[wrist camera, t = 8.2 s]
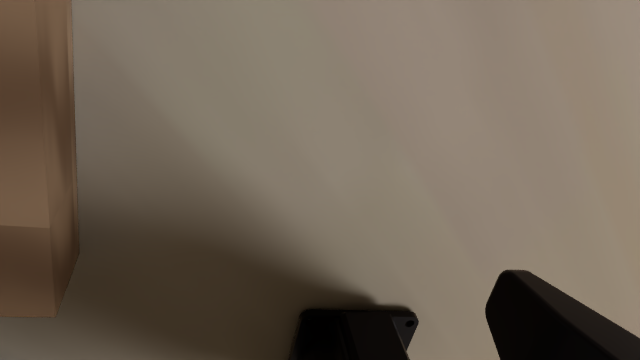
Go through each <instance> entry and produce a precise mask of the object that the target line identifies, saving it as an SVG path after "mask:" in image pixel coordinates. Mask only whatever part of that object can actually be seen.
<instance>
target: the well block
mask: <svg viewBox="0 0 640 360" xmlns="http://www.w3.org/2000/svg"><path fill="white" fill-rule="evenodd" d="M78 255H79V230H78V199H77V168H76V136H75V105H74V74H73V43H72V11H71V0H0V316H2V317H56V315H57V312H58V309H59V307H60V304H61V301H62V299H63V296H64V293H65V291H66V288H67V285H68V282H69V280H70V277H71V274H72V272H73V269H74V266H75V264H76V261H77V258H78Z"/></svg>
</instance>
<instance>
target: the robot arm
mask: <svg viewBox="0 0 640 360" xmlns="http://www.w3.org/2000/svg"><path fill="white" fill-rule="evenodd" d="M485 314H486V319H487V322H488V325H489V328H490V331H491V334H492V337H493V340H494V343H495V345H496V348H497V351H498V354H499V357H500V360H640V338H639V337H637V336H635V335H634V334H632V333H630V332H629V331H627V330H625V329H624V328H622V327H620V326H619V325H617V324H615V323H614V322H612V321H610V320H609V319H607V318H605V317H604V316H602V315H600V314H599V313H597V312H595V311H594V310H592V309H590V308H589V307H587V306H585V305H584V304H582V303H580V302H579V301H577V300H575V299H574V298H572V297H570V296H569V295H567V294H566V293H564V292H562V291H561V290H559V289H557V288H556V287H554V286H552V285H551V284H549V283H547V282H546V281H544V280H542V279H541V278H539V277H537V276H536V275H534V274H532V273H531V272H529V271H526V270H505V271H503V272H502V273H501V274H500V275H499V277H498V279H497V281H496V283H495V286H494V288H493V290H492V292H491V294H490V297H489V299H488V301H487V304H486V308H485ZM308 319H311V320H308ZM418 322H419V321H418V319H417V316H416V314H415V313H414V312H410V311H368V310H322V309H309V310H306V311H304V312H302V313H301V315H300V317H299V321H298V325H297V328H296V332H295V336H294V340H293V343H292V347H291V351H290V354H289V358H288V360H410V359H409V357H408V354H407V352H406V351H407V348H408V346H409V344H410V341H411V339H412V337H413V335H414V332H415V330H416V328H417V325H418Z"/></svg>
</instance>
